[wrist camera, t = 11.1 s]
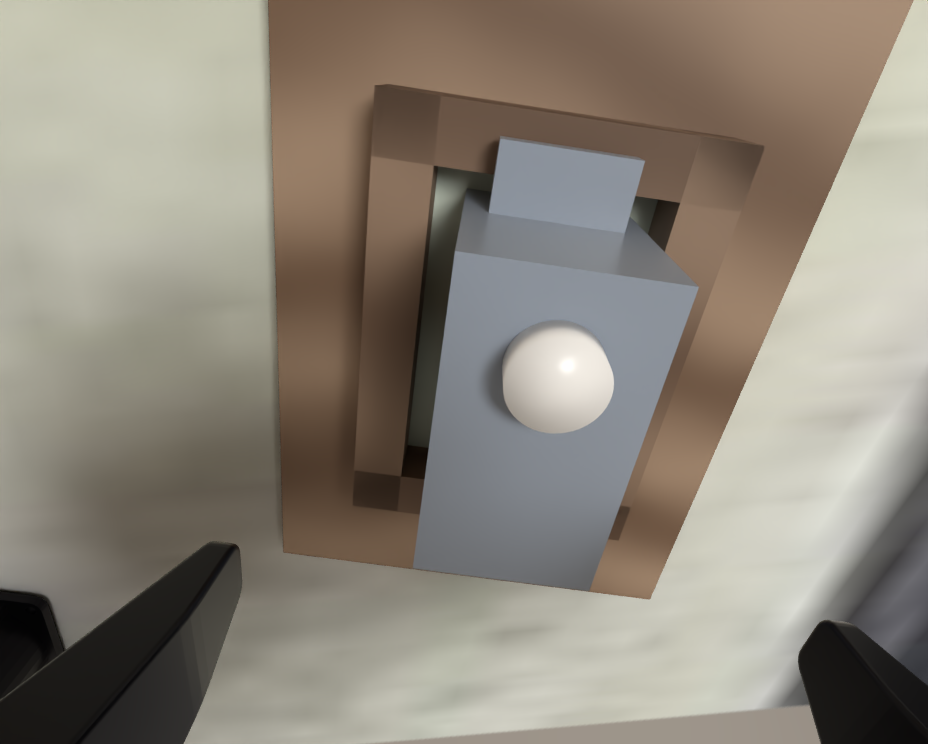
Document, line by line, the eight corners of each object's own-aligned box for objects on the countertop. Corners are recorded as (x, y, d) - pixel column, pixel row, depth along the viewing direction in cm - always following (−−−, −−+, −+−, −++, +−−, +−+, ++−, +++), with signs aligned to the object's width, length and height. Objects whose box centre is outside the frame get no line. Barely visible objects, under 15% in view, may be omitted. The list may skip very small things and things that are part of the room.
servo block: (551, 483, 20) (578, 661, 14) (428, 466, 20) (402, 639, 14) (642, 150, 14) (752, 206, 8) (475, 124, 14) (466, 161, 8)
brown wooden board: (643, 579, 24) (662, 641, 21) (291, 534, 23) (266, 591, 21) (915, -63, 13) (1018, -97, 10) (278, -171, 13) (225, -232, 10)
